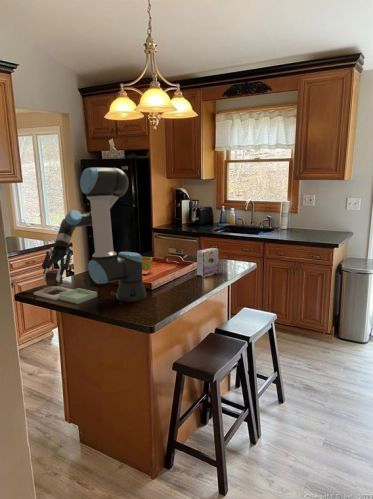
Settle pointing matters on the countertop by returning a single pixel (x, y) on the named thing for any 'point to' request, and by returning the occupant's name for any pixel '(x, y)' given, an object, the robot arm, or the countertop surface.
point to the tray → (78, 295)
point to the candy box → (207, 261)
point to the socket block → (49, 289)
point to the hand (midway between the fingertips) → (51, 280)
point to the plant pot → (146, 263)
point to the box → (53, 278)
